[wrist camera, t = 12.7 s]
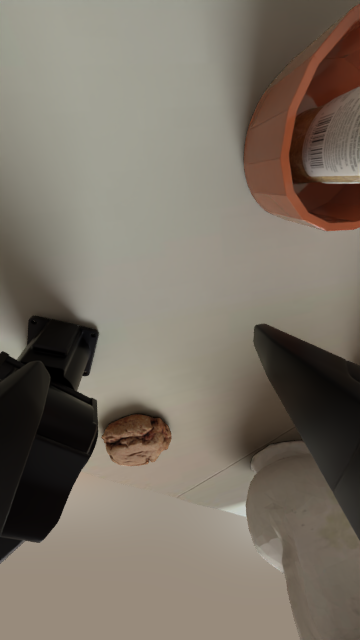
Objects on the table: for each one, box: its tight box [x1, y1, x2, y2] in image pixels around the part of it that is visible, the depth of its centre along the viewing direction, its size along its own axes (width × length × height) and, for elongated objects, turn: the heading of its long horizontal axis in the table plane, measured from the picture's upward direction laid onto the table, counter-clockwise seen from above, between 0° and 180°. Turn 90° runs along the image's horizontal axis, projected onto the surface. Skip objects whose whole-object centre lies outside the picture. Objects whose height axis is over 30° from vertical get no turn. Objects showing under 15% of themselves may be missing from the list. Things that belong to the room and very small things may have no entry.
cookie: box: [102, 414, 171, 466], centre depth 33 cm, size 10×11×3 cm
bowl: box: [244, 4, 360, 231], centre depth 15 cm, size 10×10×6 cm
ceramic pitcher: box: [246, 440, 360, 640], centre depth 32 cm, size 22×20×25 cm
